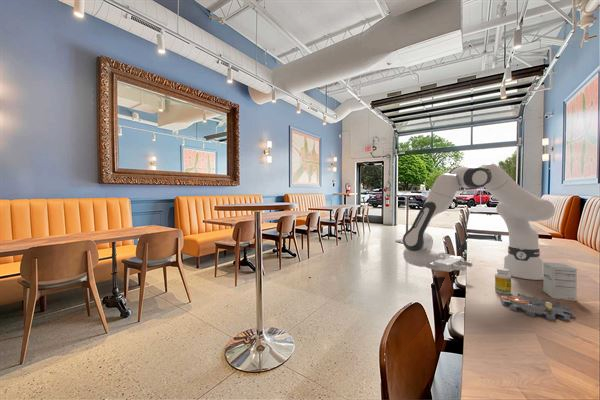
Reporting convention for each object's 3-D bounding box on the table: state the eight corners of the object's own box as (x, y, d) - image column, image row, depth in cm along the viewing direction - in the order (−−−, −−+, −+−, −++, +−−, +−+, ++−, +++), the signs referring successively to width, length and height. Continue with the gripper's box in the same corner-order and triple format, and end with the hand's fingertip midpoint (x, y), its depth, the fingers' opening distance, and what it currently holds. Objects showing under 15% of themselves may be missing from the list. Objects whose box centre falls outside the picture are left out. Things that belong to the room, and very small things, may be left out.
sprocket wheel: (506, 293, 105) (506, 282, 104) (574, 308, 90) (574, 295, 90) (495, 307, 92) (495, 294, 92) (572, 326, 78) (572, 312, 78)
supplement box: (542, 291, 106) (542, 261, 106) (566, 294, 103) (566, 263, 103) (552, 298, 99) (552, 266, 99) (577, 301, 96) (577, 268, 96)
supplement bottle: (498, 288, 110) (497, 266, 110) (513, 292, 106) (513, 269, 106) (492, 291, 107) (492, 268, 107) (508, 295, 103) (508, 271, 103)
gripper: (427, 258, 119) (461, 263, 109) (444, 251, 133) (475, 256, 122) (427, 271, 119) (461, 278, 109) (444, 263, 133) (475, 269, 122)
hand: (468, 266), depth 116 cm, fingers open, 8 cm apart
